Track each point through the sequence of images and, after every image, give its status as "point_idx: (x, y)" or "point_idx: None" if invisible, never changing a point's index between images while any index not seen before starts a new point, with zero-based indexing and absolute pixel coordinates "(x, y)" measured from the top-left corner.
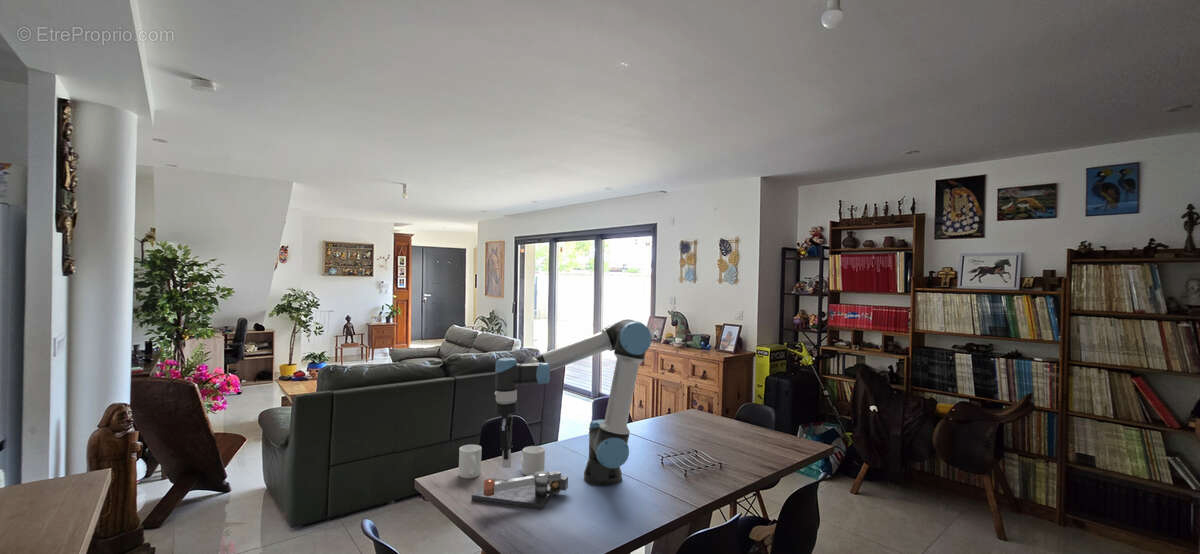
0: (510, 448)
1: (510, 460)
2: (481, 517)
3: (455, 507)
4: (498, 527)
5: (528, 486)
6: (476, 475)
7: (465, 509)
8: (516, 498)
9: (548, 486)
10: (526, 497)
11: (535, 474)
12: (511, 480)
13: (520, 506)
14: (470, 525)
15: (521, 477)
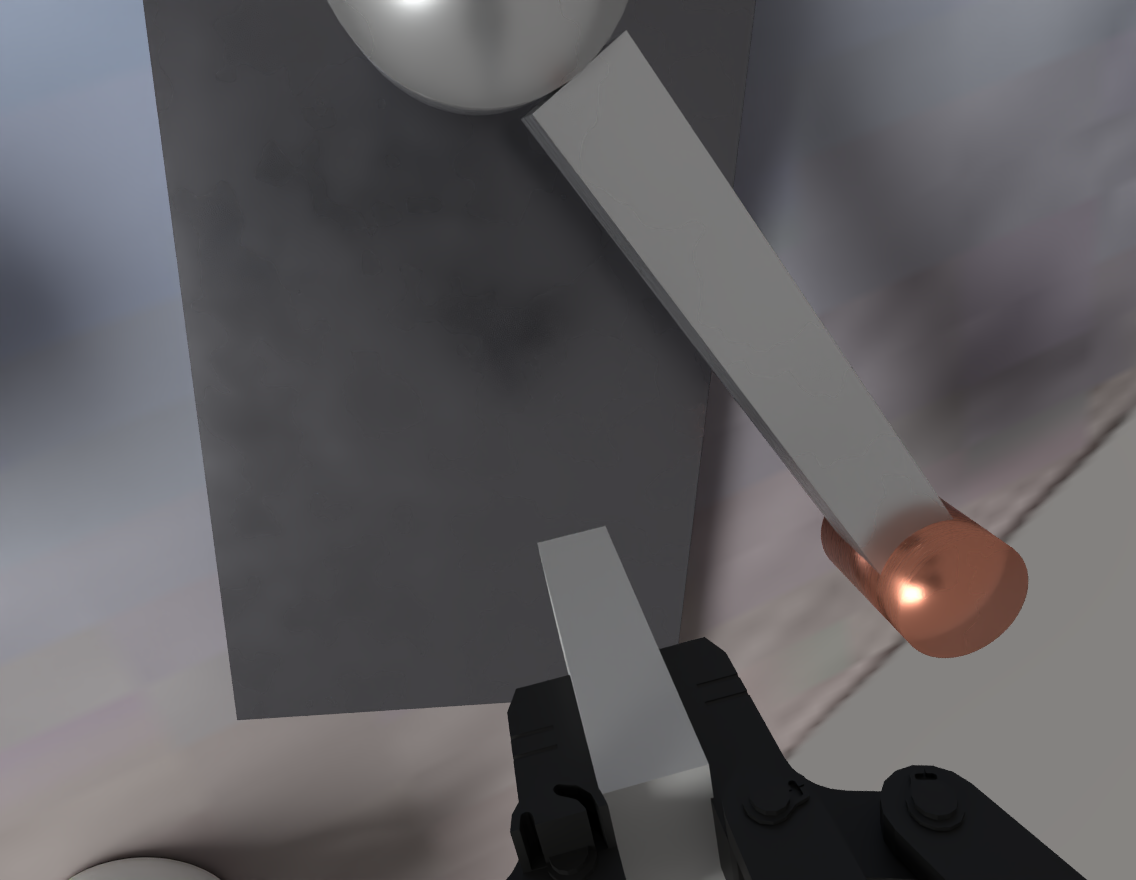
0: (605, 794)
1: (580, 600)
2: (931, 453)
3: (788, 702)
4: (1094, 244)
5: (299, 251)
6: (172, 870)
7: (811, 625)
8: None
9: None
10: None
11: (530, 50)
12: (802, 370)
13: None
14: (1056, 470)
15: (673, 267)
